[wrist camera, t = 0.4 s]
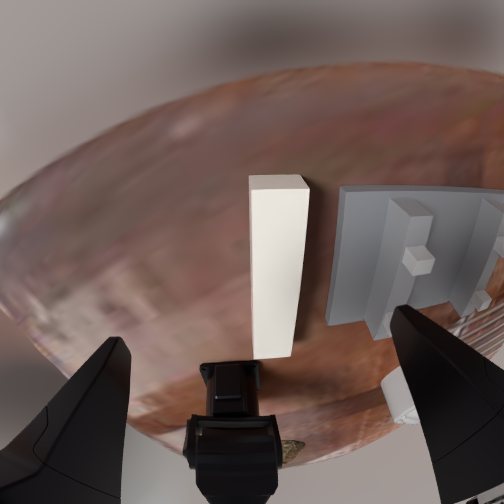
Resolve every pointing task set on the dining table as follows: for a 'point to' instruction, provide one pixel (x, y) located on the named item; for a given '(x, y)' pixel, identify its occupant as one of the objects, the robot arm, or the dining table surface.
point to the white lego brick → (399, 398)
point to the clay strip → (276, 259)
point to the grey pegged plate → (412, 251)
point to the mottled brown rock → (290, 449)
